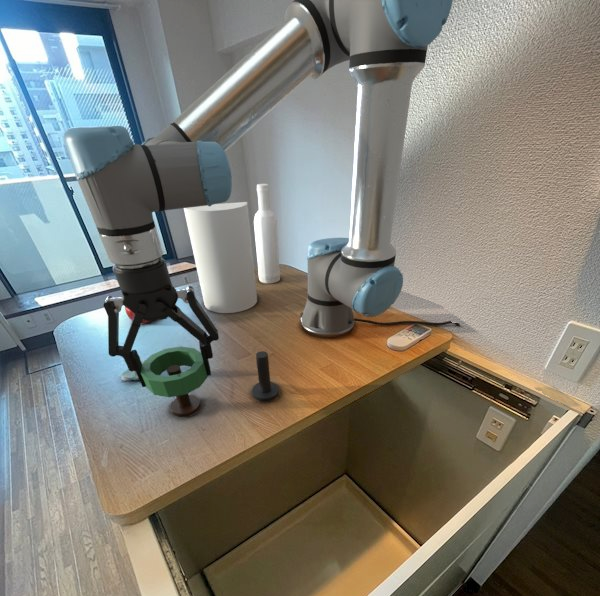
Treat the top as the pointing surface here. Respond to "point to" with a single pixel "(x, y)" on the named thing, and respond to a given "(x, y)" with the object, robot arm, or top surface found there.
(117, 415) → the top surface
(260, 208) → the bottle
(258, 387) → the charcoal peg
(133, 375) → the pacifier
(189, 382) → the ring
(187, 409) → the walnut peg
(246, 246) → the cylinder
